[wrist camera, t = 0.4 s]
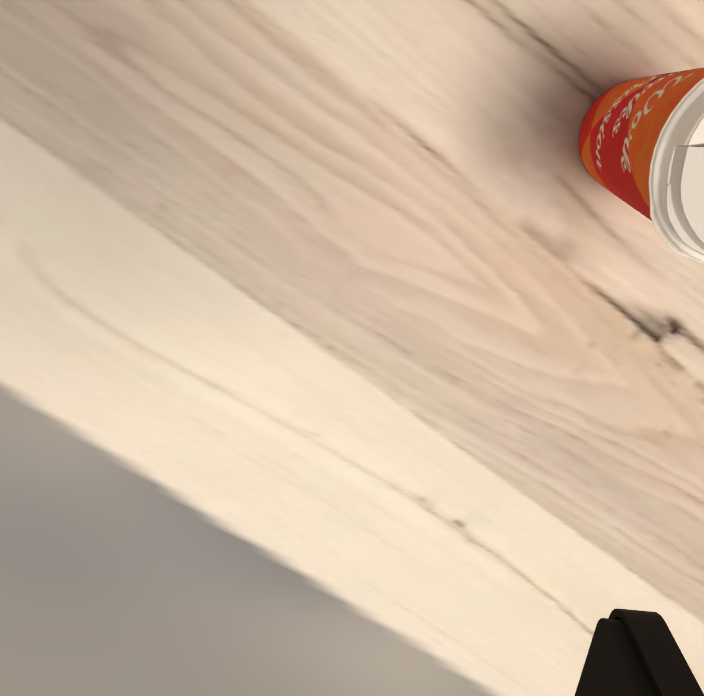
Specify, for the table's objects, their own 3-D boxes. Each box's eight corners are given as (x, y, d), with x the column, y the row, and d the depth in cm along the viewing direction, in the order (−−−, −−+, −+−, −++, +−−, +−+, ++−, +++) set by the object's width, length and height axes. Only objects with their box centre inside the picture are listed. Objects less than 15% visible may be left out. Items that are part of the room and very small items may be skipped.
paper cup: (664, 23, 33) (853, -12, 20) (728, 151, 35) (936, 194, 22) (528, 121, 35) (620, 146, 22) (598, 236, 37) (718, 321, 24)
